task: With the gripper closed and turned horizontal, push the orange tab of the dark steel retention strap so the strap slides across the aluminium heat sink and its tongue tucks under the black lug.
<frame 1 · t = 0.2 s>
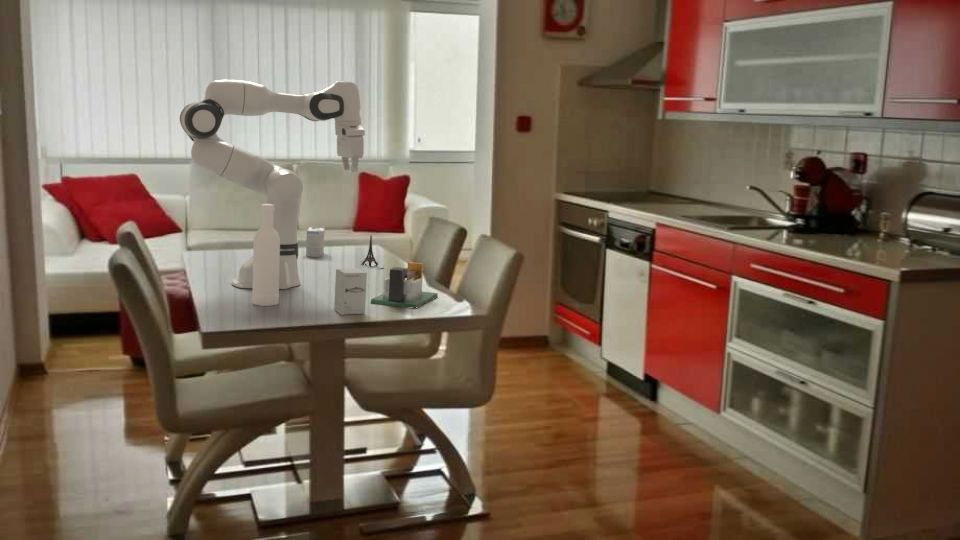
hand: (350, 170, 294), 39 cm above the table, tool pointing down, fingers open, 8 cm apart
eiffel tower figurine: (371, 267, 340), on the table
supplement box: (349, 312, 256), on the table
light bulb box: (314, 255, 358), on the table
heatsink board: (402, 301, 276), on the table
bottle: (265, 304, 260), on the table
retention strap: (409, 277, 280), point 7 cm above the table, slide at 0.0 cm
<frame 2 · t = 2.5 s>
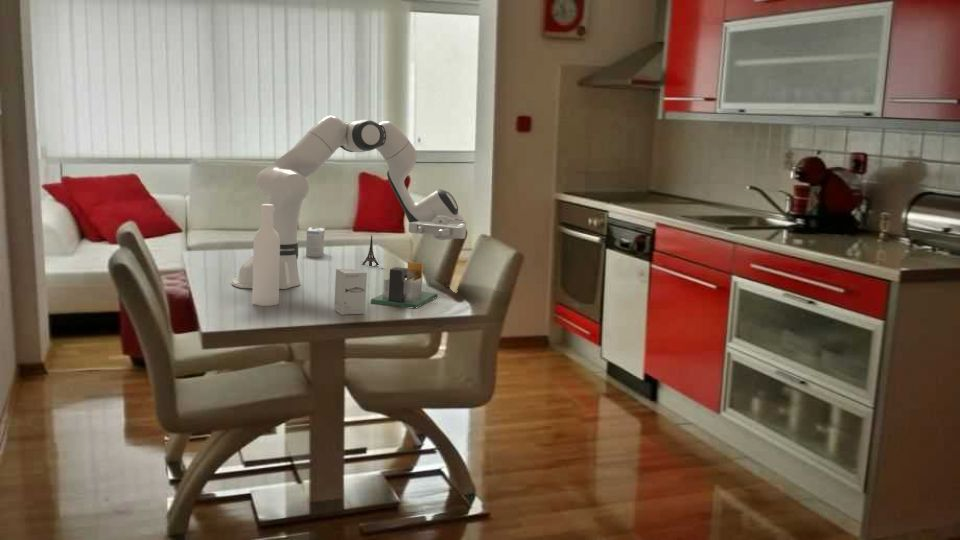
hand: (430, 231, 296), 20 cm above the table, tool horizontal, fingers open, 6 cm apart
nothing on the table moved.
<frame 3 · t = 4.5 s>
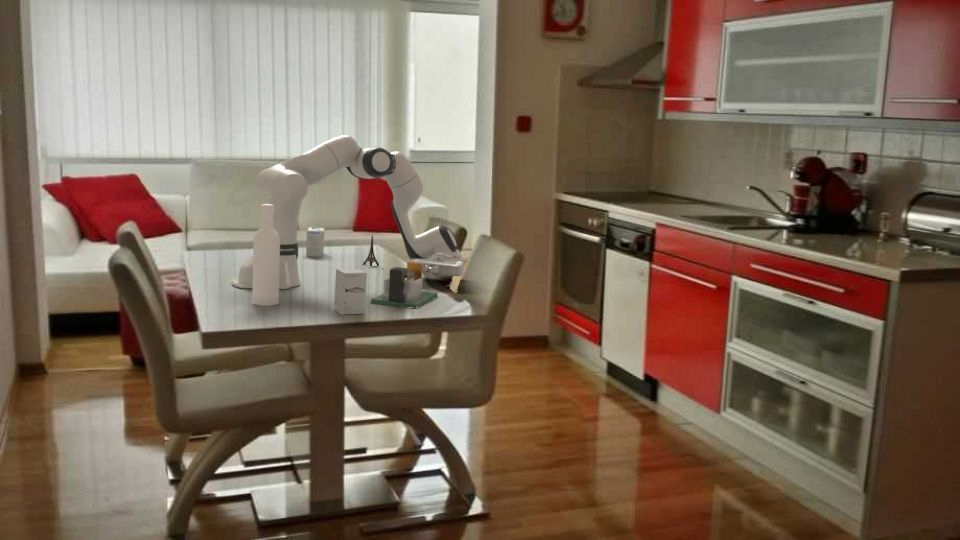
hand: (428, 270, 298), 7 cm above the table, tool horizontal, fingers closed
nothing on the table moved.
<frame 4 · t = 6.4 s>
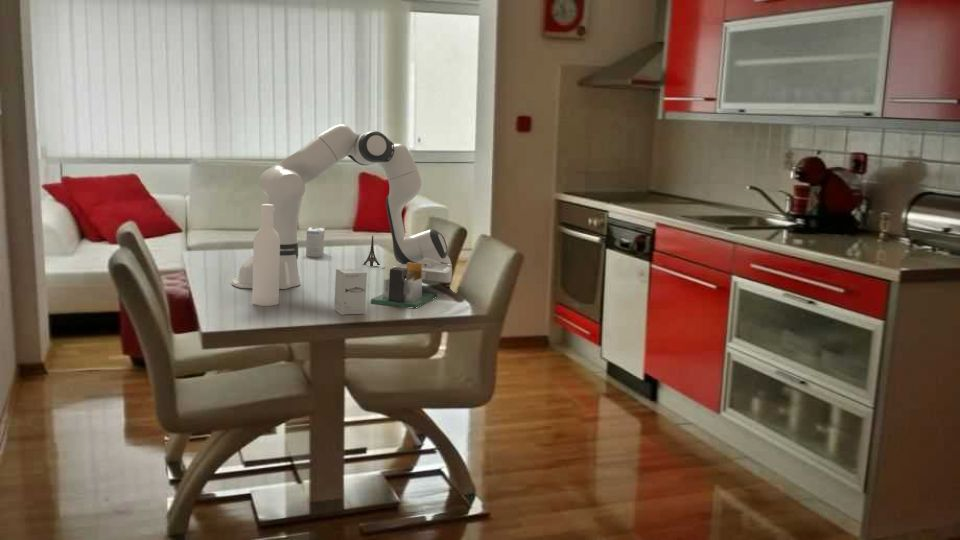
hand: (414, 276, 285), 6 cm above the table, tool horizontal, fingers closed, pressing on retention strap
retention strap: (408, 277, 280), point 7 cm above the table, slide at 0.7 cm, touching gripper
everything else where it was.
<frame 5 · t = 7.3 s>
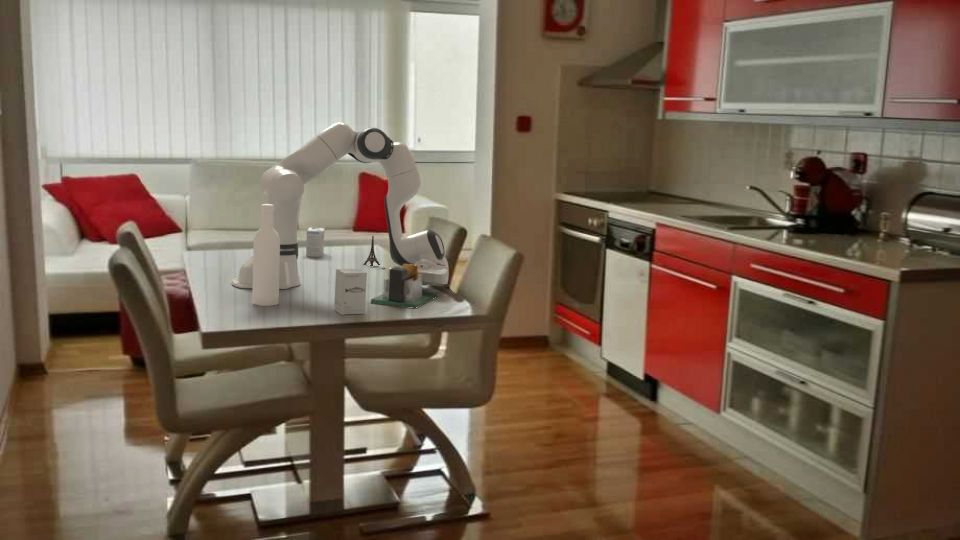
hand: (410, 278, 281), 6 cm above the table, tool horizontal, fingers closed, pressing on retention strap
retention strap: (404, 279, 276), point 7 cm above the table, slide at 4.5 cm, touching gripper
everything else where it was.
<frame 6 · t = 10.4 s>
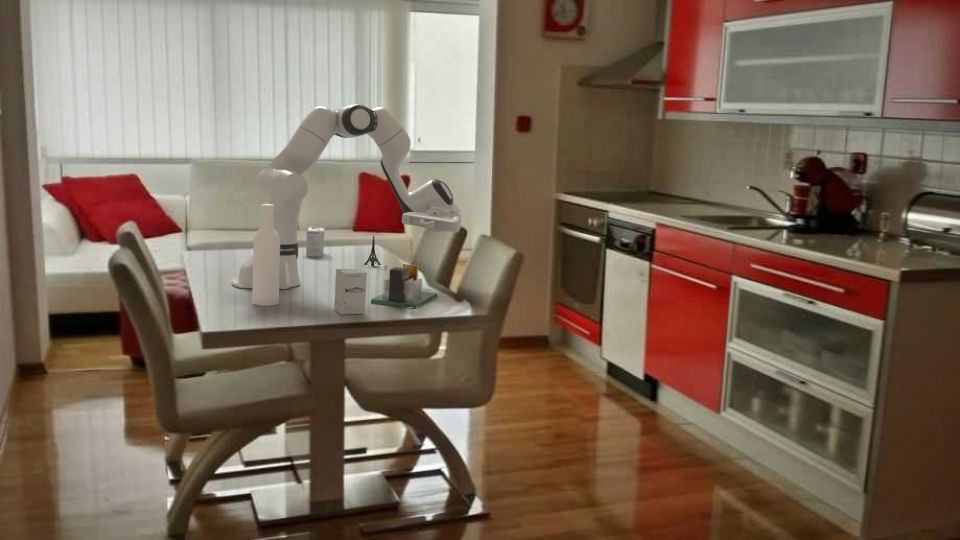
hand: (423, 225, 290), 23 cm above the table, tool horizontal, fingers closed
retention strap: (404, 279, 276), point 7 cm above the table, slide at 4.5 cm
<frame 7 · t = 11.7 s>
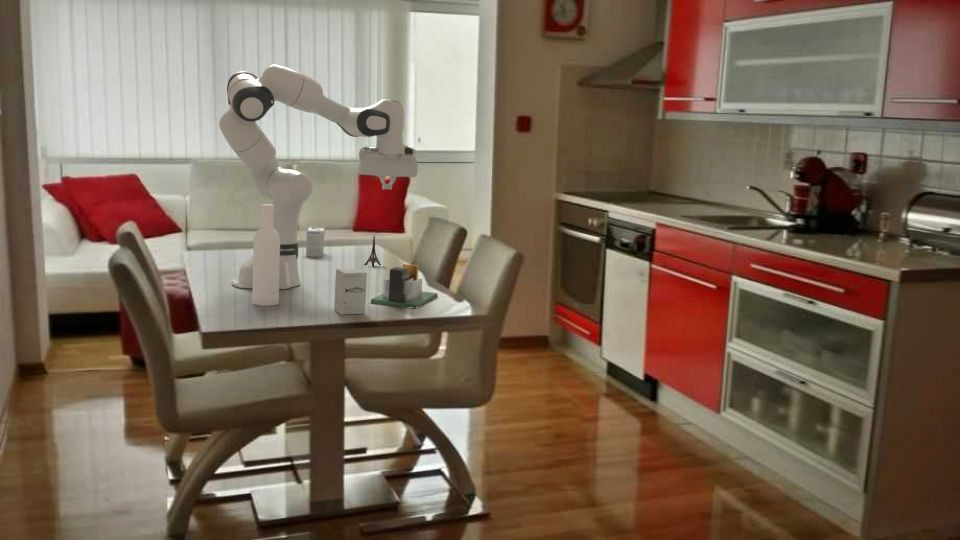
hand: (387, 189, 292), 34 cm above the table, tool pointing down, fingers closed
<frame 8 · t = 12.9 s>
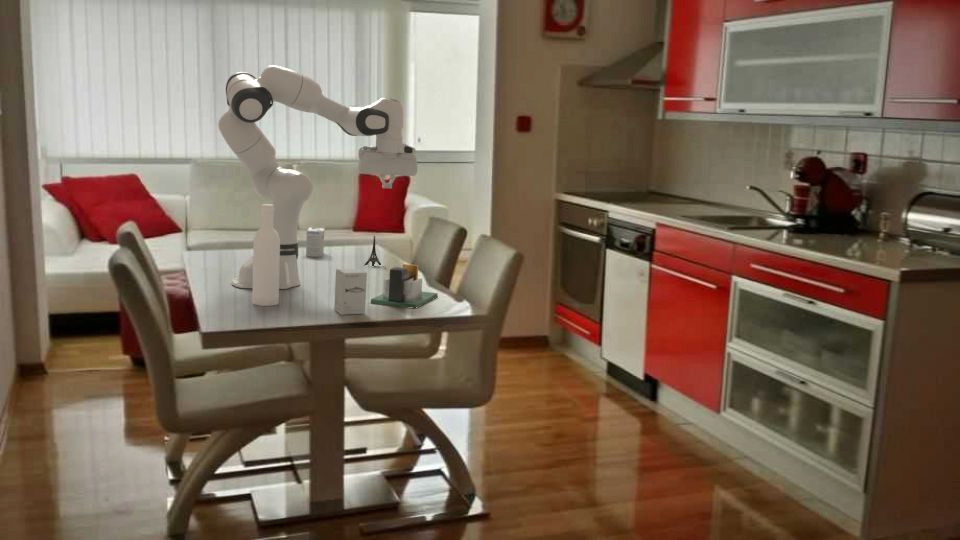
hand: (386, 188, 292), 34 cm above the table, tool pointing down, fingers closed
at the end: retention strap slide at 4.5 cm; supplement box moved 0.3 cm from its start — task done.
